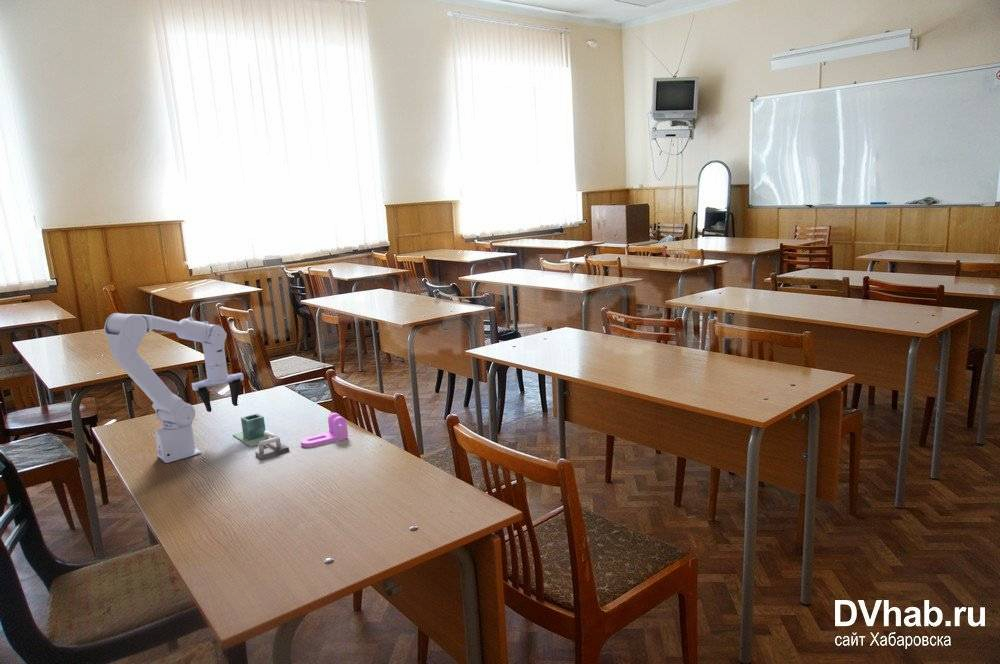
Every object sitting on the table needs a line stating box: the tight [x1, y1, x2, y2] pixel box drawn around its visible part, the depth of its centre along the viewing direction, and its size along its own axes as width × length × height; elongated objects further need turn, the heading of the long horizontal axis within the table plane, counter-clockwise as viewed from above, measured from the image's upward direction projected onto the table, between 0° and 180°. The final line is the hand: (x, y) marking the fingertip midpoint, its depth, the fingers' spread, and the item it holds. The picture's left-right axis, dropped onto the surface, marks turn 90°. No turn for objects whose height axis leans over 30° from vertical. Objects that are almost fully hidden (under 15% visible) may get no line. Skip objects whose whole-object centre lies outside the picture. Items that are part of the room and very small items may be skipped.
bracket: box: [300, 412, 349, 448], centre depth 195 cm, size 13×6×7 cm, turn 122°
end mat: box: [232, 431, 271, 448], centre depth 201 cm, size 8×14×1 cm, turn 42°
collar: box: [240, 413, 266, 440], centre depth 200 cm, size 5×5×6 cm
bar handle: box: [255, 429, 290, 460], centre depth 190 cm, size 8×12×4 cm
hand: (222, 408), depth 201 cm, fingers open, 7 cm apart
